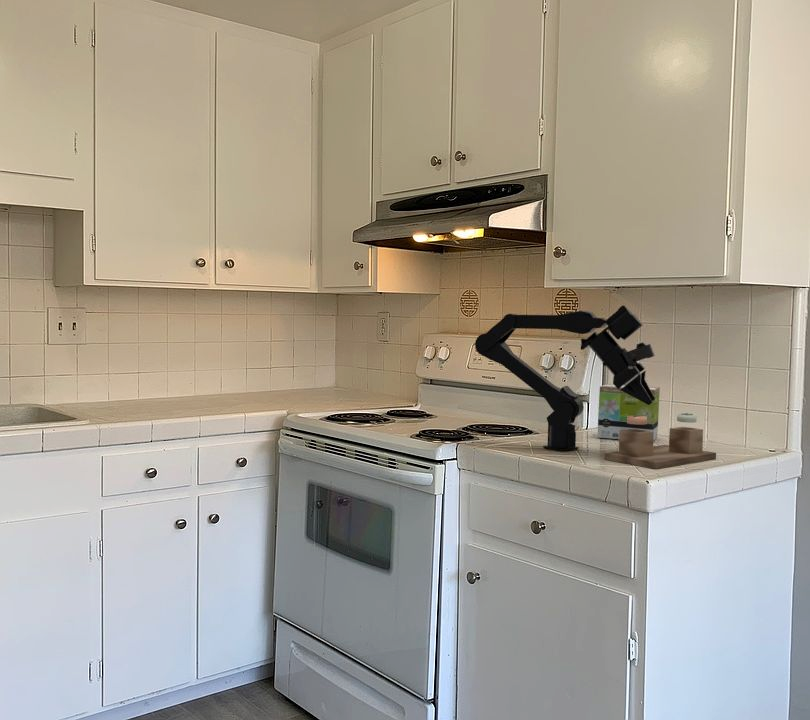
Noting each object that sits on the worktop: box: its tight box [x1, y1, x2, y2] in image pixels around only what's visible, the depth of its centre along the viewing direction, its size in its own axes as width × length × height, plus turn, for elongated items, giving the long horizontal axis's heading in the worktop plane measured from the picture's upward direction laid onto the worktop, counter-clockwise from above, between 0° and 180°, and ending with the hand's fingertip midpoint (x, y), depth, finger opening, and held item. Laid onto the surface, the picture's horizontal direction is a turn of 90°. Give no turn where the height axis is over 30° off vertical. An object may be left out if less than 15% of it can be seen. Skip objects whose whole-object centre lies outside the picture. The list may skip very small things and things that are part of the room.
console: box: [604, 426, 717, 470], centre depth 188 cm, size 14×24×7 cm, turn 128°
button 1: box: [627, 415, 647, 425], centre depth 185 cm, size 4×4×2 cm
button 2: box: [676, 412, 698, 424], centre depth 191 cm, size 4×4×2 cm
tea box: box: [597, 383, 660, 442], centre depth 221 cm, size 15×10×15 cm, turn 65°
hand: (652, 402), depth 192 cm, fingers open, 9 cm apart
